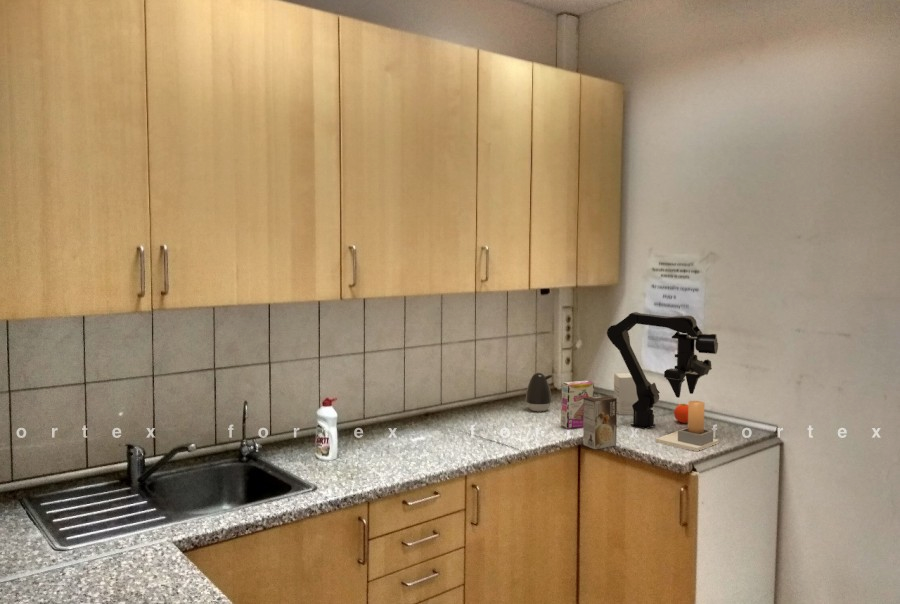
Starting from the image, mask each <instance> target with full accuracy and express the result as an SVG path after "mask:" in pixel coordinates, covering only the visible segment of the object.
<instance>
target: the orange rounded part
mask: <svg viewBox="0 0 900 604" xmlns="http://www.w3.org/2000/svg"><path fill="white" fill-rule="evenodd" d="M687 405H688V422H687V427H688V432H690V433H695V434H703V433H704V429H705V428H704V427H705V406H706V405H705V401H700V400H689V401H688V404H687Z"/></svg>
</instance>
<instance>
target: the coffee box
mask: <svg viewBox="0 0 900 604" xmlns="http://www.w3.org/2000/svg"><path fill="white" fill-rule="evenodd" d="M617 415H618V413H617V398H614V396H610V395H609V396H608V395H606V394H604V395H603V394H602V395H596V396H594V397H586V398H584V427H583V435H582V436H583V438H582V439H583V444H582V445H583V446H585V447H587V448H590V449H593V450H599V449H605V448H611V447H615V446H617V425H618V424H617V418H618V417H617Z"/></svg>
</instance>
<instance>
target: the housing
mask: <svg viewBox="0 0 900 604" xmlns="http://www.w3.org/2000/svg"><path fill="white" fill-rule="evenodd" d="M655 443H658V444H661V445H662V444H663V445H667V446H671V447H675V448H678V449H679V448H680V449H683V448H684V449H685V450H687V449H689V450H688V451H692V450H694V451H693V452H696V451H698V452H700V451H702V449H703V450H705V449H704V448H706V449H707V447H708V448H710V447H709V446H711V447H713V446H716V445H718V444H719V443H720V441H719V439H715V438H714V430H711V429H705V428H704V433H703V434H695V433H690V432H688V426H687V427H685V428H681V429H679V430H677V431H674V432H672V433H668V434H666V435H663V436H659V437H656V438H655ZM715 444H716V445H715ZM712 445H713V446H712ZM684 449H683V450H684ZM699 450H700V451H699Z"/></svg>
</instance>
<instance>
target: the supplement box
mask: <svg viewBox="0 0 900 604" xmlns="http://www.w3.org/2000/svg"><path fill="white" fill-rule="evenodd" d="M613 398H617V415H619V416H633V415H634V410H633V407H632V405H633V404H634V403H635V402H637V401H638V397H637V392H636V385H635V382H634V380H633V378H632V376H631V374H630V372H629V373H627V372H625V373H623V372H622V373H621V372H620V373H616V372H615V373H613Z"/></svg>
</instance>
